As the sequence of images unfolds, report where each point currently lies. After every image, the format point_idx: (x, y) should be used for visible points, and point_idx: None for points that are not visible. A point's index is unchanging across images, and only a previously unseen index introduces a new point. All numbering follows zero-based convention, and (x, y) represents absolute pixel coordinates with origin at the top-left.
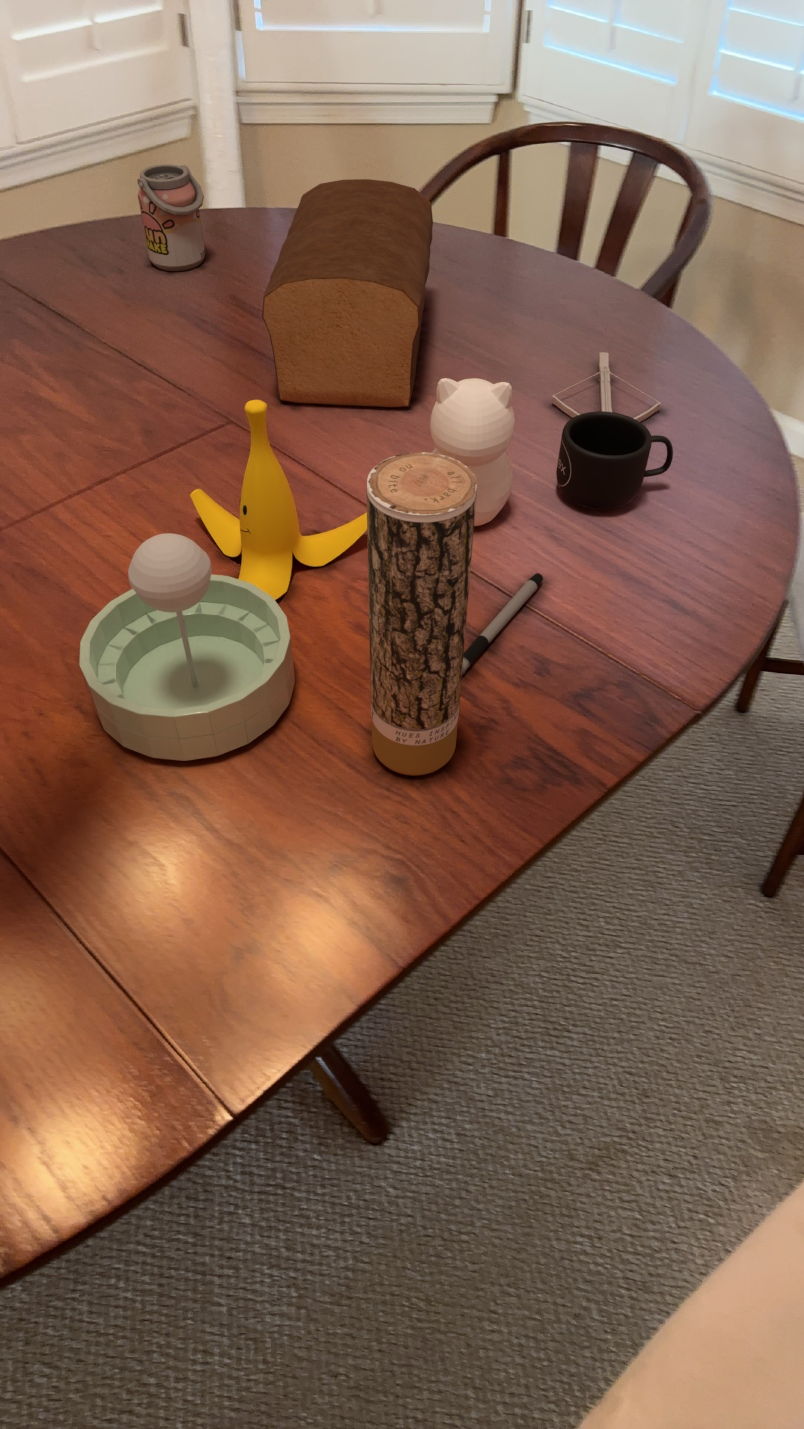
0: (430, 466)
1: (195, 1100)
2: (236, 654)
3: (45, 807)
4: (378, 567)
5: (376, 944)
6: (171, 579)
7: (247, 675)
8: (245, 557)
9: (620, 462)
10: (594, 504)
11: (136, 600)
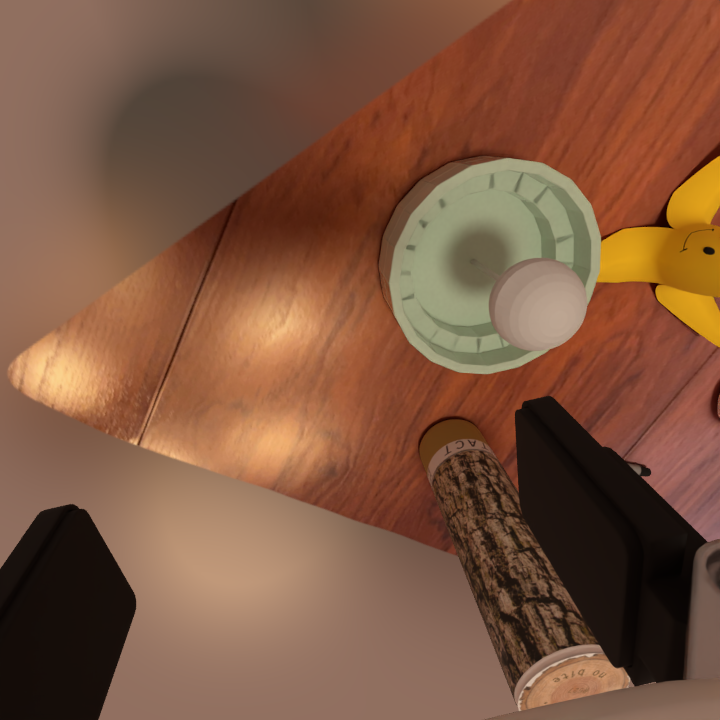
0: (604, 687)
1: (133, 424)
2: None
3: (300, 193)
4: (499, 599)
5: (281, 476)
6: (509, 335)
7: None
8: (658, 234)
9: None
10: None
11: (553, 185)
